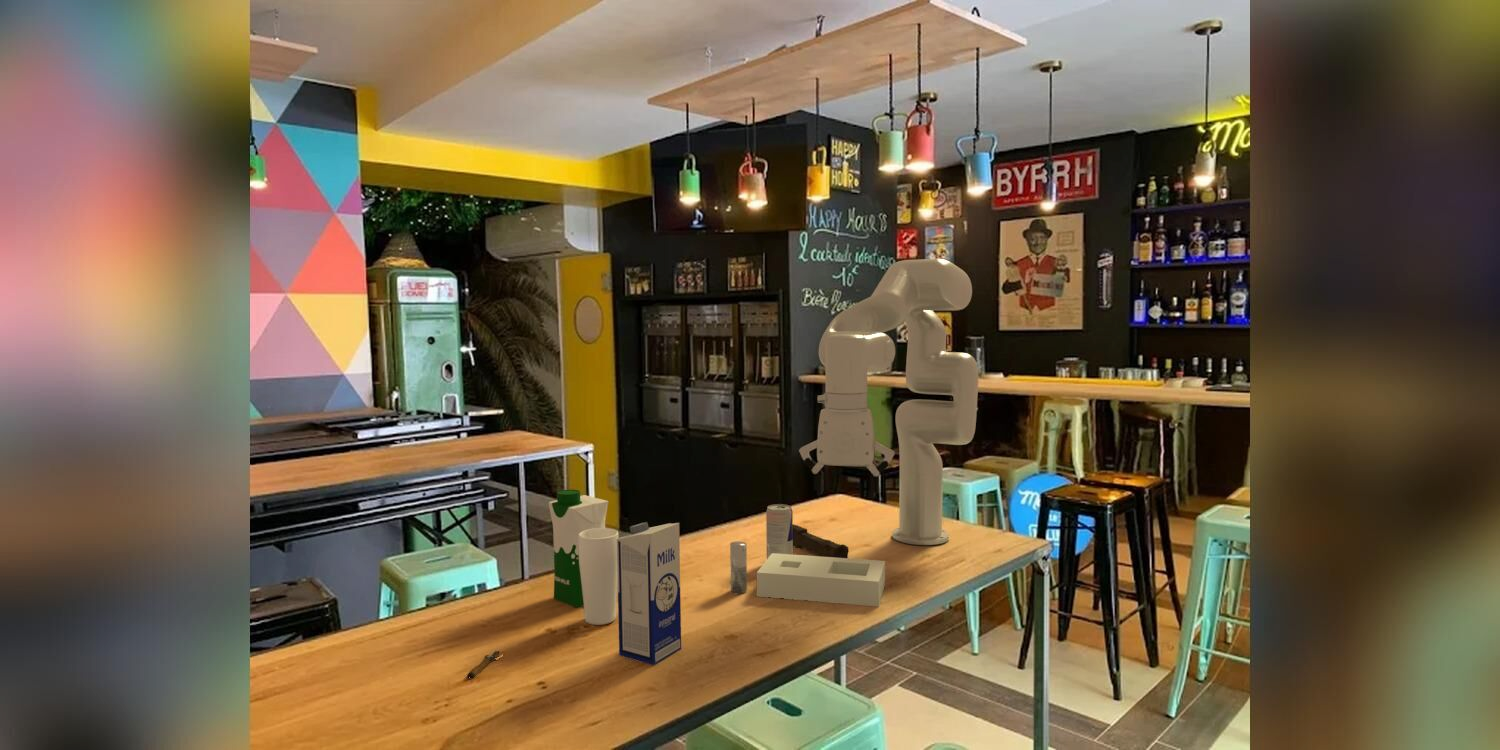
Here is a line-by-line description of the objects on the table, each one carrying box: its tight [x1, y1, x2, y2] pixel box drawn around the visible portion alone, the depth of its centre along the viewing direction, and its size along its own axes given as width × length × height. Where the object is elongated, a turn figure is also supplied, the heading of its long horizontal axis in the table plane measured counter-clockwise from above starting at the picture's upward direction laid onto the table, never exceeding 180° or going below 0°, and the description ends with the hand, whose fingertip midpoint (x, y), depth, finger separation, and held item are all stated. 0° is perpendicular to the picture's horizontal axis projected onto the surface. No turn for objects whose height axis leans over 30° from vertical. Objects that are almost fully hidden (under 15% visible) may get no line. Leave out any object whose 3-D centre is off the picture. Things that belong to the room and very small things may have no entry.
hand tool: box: [793, 524, 850, 558], centre depth 174 cm, size 19×4×5 cm, turn 32°
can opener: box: [466, 650, 504, 679], centre depth 119 cm, size 9×2×1 cm, turn 165°
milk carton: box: [616, 521, 682, 666], centre depth 122 cm, size 7×7×20 cm
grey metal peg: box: [729, 541, 748, 595], centre depth 149 cm, size 3×3×9 cm
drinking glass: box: [578, 527, 620, 626], centre depth 135 cm, size 7×7×15 cm
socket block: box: [756, 553, 886, 608], centre depth 149 cm, size 12×22×4 cm, turn 75°
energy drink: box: [765, 503, 794, 560], centre depth 164 cm, size 5×5×12 cm
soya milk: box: [548, 489, 609, 609], centre depth 146 cm, size 9×9×20 cm
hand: (846, 495), depth 147 cm, fingers open, 9 cm apart
